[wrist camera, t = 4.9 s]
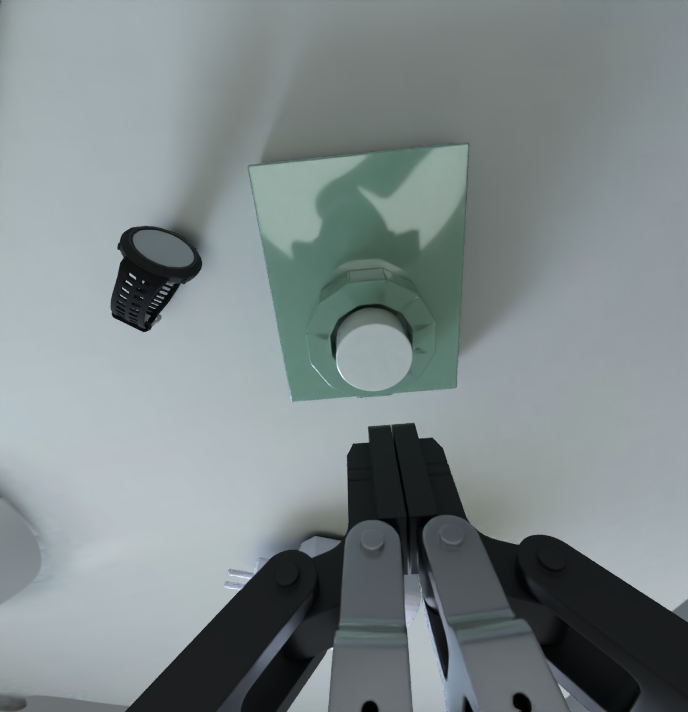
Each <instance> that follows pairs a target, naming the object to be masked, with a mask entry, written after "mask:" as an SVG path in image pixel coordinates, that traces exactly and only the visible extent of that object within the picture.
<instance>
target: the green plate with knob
mask: <svg viewBox="0 0 688 712" xmlns="http://www.w3.org/2000/svg"><path fill="white" fill-rule="evenodd" d="M468 160H469V143H450V144H440V145H431V146H421V147H411V148H401V149H392V150H382V151H372V152H363V153H353V154H343V155H333V156H324V157H314V158H304V159H294V160H285V161H275V162H265V163H257V164H252V165H248V172H249V177H250V182H251V188H252V193H253V198H254V204H255V209H256V214H257V220H258V225H259V230H260V236H261V241H262V246H263V252H264V257H265V262H266V268H267V273H268V278H269V284H270V289H271V294H272V300H273V305H274V311H275V316H276V321H277V327H278V332H279V337H280V343H281V348H282V353H283V359H284V364H285V369H286V375H287V380H288V385H289V391H290V396H291V401H292V402H294V401H307V400H319V399H331V398H343V397H355V396H356V397H358V398H359V397H360V398H362V397H375V396H387V395H392V394H394V393H403V392H415V391H427V390H439V389H451V388H456V386H457V367H458V349H459V330H460V311H461V292H462V273H463V255H464V236H465V217H466V198H467V179H468ZM364 308H381V309H384V310H387V311H389V312H391V313H393V314H394V315H396V316H397V317H398V318H399V319H400V321H401V322H402V324H403V325H404V328H405V330H406V333H407V336H408V339H409V341H410V344H411V347H412V352H413V360H412V364H411V367H410V369H409V371H408V373H407V374H406V376H405V377H404V378H403V379H402V380H401V381H400V382H398V383H397V384H395V385H394V386H392V387H390V388H387V389H384V390H379V391H366V390H362V389H359V388H356V387H354V386H352V385H351V384H349V383H348V382H347V381H346V380H345V379H344V378H343V377H342V376H341V374H340V372H339V371H338V368H337V364H336V336H337V332H338V329H339V327H340V325H341V323H342V322H343V321H344V320H345V319H346V318H347V317H348V316H349V315H350V314H352V313H354V312H356V311H358V310H361V309H364Z"/></svg>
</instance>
